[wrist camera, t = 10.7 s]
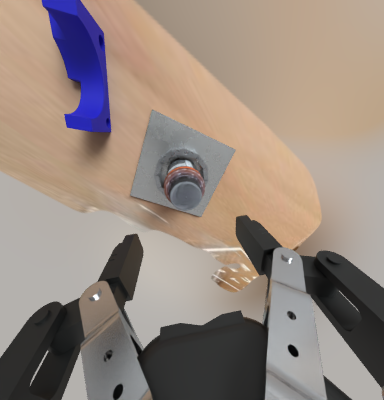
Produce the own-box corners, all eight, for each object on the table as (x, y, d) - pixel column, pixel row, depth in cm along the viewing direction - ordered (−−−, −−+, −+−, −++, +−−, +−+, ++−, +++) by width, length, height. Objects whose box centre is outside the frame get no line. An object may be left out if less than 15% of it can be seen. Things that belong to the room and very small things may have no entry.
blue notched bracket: (66, 23, 18) (18, -25, 12) (104, 33, 18) (74, -7, 13) (82, 126, 23) (53, 125, 17) (111, 132, 23) (92, 131, 18)
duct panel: (131, 193, 28) (125, 202, 25) (153, 110, 23) (149, 106, 19) (200, 215, 33) (203, 224, 29) (234, 149, 27) (242, 151, 23)
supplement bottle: (199, 184, 28) (211, 213, 18) (170, 189, 28) (167, 222, 18) (195, 155, 26) (207, 170, 16) (163, 160, 25) (155, 179, 15)
